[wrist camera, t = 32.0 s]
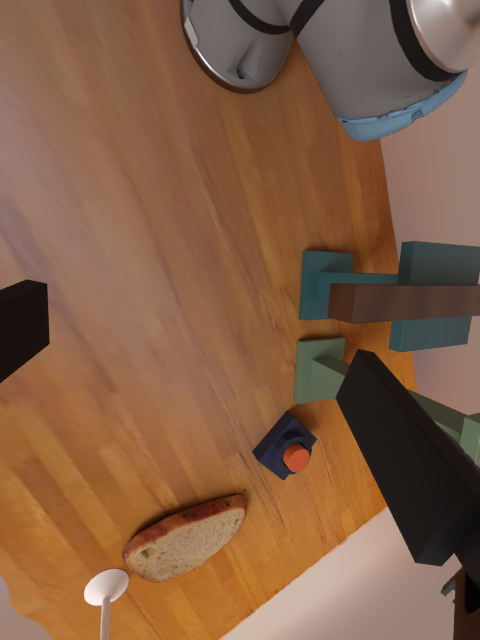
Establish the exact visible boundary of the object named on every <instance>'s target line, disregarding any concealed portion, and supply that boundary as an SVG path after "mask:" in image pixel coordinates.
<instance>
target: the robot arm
mask: <svg viewBox="0 0 480 640" xmlns="http://www.w3.org/2000/svg"><path fill="white" fill-rule="evenodd" d="M180 16H181V23H182V28H183V32H184V36H185V39H186V41H187V44H188V46H189V49H190V51H191V53H192V55H193V56H194V58H195V60H196V61H197V63H198V64H199V66H200V67H201V68H202V69H203V71H204V72H205V73H206V74H207V75H208V76H209V77H210V78H211V79H212V80H213V81H215V82H216V83H217V84H219V85H220V86H222V87H224V88H225V89H228V90H230V91H233V92H236V93H242V94H250V93H255V92H258V91H260V90H262V89H264V88H266V87H267V86H268V85H269V84H270V83H271V82H272V81H273V80H274V79H275V77H276V76H277V75H278V74H279V72H280V71H281V69H282V68H283V66H284V64H285V61H286V59H287V56H288V53H289V50H290V47H291V44H292V41H293V38H294V36H295V38H296V41H297V42H298V44H299V46H300V48H301V50H302V52H303V54H304V56H305V58H306V60H307V62H308V64H309V66H310V68H311V70H312V72H313V73H314V75H315V77H316V79H317V81H318V83H319V85H320V87H321V89H322V91H323V93H324V95H325V97H326V99H327V101H328V103H329V105H330V106H331V108H332V112H333V115H335V118H336V119H337V120H339V121H340V123H341V124H342V126H343V128H344V129H345V131H346V132H347V134H348V135H349V136H350V137H351V138H352V139H354V140H357V141H372V140H376V139H379V138H382V137H385V136H388V135H390V134H393V133H395V132H397V131H399V130H401V129H403V128H405V127H407V126H409V125H410V124H412V123H413V122H414V121H415V120H416V119H418V118H420V117H424V116H426V115H427V114H429V113H430V112H432V111H433V110H435V109H437V108H438V107H439V106H441V105H442V104H443V103H444V102H446V101H447V100H448V99H449V98H450V97H451V96H453V95H454V93H456V92H457V91H458V89H459V88H460V87H461V86H462V84H463V83H464V81H465V79H466V76H467V70H468V69H469V68H470V67H472V66H474V65H475V64H476V63H477V62H479V61H480V0H181V1H180ZM49 344H50V342H49V317H48V292H47V284H46V283H41V282H37V281H32V280H27V279H26V280H24V281H21V282H19V283H16V284H14V285H11V286H9V287H6V288H4V289H2V290H0V383H1V382H2V381H3V380H5V379H6V378H7V377H9V376H10V375H11V374H12V373H14V372H15V371H16V370H17V369H19V368H20V367H21V366H22V365H24V364H25V363H26V362H27V361H29V360H30V359H31V358H32V357H34V356H35V355H36V354H37V353H39V352H40V351H41V350H42V349H44V348H45V347H46V346H48V345H49ZM335 399H336V401H337V403H338V405H339V407H340V409H341V411H342V413H343V415H344V417H345V419H346V421H347V423H348V425H349V427H350V429H351V431H352V433H353V436H354V438H355V440H356V442H357V444H358V446H359V448H360V450H361V452H362V454H363V456H364V458H365V460H366V462H367V464H368V466H369V468H370V470H371V473H372V475H373V477H374V479H375V481H376V483H377V485H378V487H379V489H380V491H381V493H382V495H383V497H384V499H385V501H386V503H387V505H388V507H389V509H390V511H391V514H392V515H393V518H394V520H395V522H396V524H397V526H398V528H399V530H400V532H401V534H402V536H403V538H404V540H405V542H406V544H407V546H408V549H409V551H410V552H411V555H412V557H413V559H414V561H415V563H420V564H428V565H436V566H442V565H443V564H444V563H445V562H446V561H447V560H448V559H449V558H450V557H451V556H452V554H453V553H455V555H456V556H457V558H458V559H459V561H460V562H461V564H462V566H463V567H462V568H461V569H460V570H459V571H458V572H457V573H456V574H455V575H454V576H453V577H452V578H451V579H450V580H449V581H448V582H447V583H446V584H445V585H444V586H443V588H442V591H441V593H442V594H443V595H444V596H446V595H447V594H448V593H449V592H450V591H451V590H455V599H454V600H453V603H454V604H455V611H454V635H453V640H480V467H479V466H478V465H475V462H474V461H473V459H472V458H471V457H470V456H469V455H468V454H467V453H465V452H464V451H465V450H464V449H463V448H462V447H461V446H460V445H459V444H458V443H457V442H456V440H455V439H454V438H453V437H452V436H451V435H449V434H448V433H447V432H446V431H444V430H443V429H442V428H441V427H439V426H438V425H437V424H436V423H435V422H434V420H433V419H432V418H431V417H430V416H429V415H428V414H427V412H426V411H425V410H424V409H423V408H422V407H421V406H420V404H419V403H418V402H417V401H416V400H415V399H414V398H413V396H412V395H411V394H410V393H409V392H408V391H407V390H406V388H405V387H404V386H403V385H402V384H401V383H400V382H399V380H398V379H397V378H396V377H395V376H394V375H393V374H392V372H391V371H390V370H389V369H388V368H387V367H386V366H385V364H384V363H383V362H382V361H381V360H380V359H379V358H378V356H377V355H376V354H375V353H374V352H370V351H366V350H361V349H358V350H357V352H356V354H355V356H354V358H353V360H352V363H351V365H350V367H349V369H348V371H347V373H346V376H345V378H344V380H343V382H342V384H341V386H340V389H339V391H338V393H337V395H336V397H335Z"/></svg>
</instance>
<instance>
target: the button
mask: <svg viewBox="0 0 480 640" xmlns="http://www.w3.org/2000/svg"><path fill="white" fill-rule="evenodd" d="M309 458H310V456H309V453H308V451H307V450H306V449H305V448H304V447H303V446H302V445H301V444H298V443H295V444H292V445H290V446H289V447H288V448H287V449H286V451H285V452H284V455H283V461H284V463H285V464H286V465H287V467H288V468H289V469H290V470H291V471H292V472H299V471H301V470H303V469H304V468H305V467H306V466H307V464H308V462H309Z"/></svg>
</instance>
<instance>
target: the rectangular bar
mask: <svg viewBox="0 0 480 640" xmlns="http://www.w3.org/2000/svg"><path fill="white" fill-rule="evenodd" d="M479 315H480V284H355V283H331V284H330V293H329V305H328V318H332V319H336V320H340V321H344V322H348V323H352V324H353V323H369V322H385V321H401V320H417V319H432V318H448V317H464V316H479Z"/></svg>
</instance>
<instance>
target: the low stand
mask: <svg viewBox="0 0 480 640" xmlns="http://www.w3.org/2000/svg"><path fill="white" fill-rule="evenodd" d="M353 257H354V253H340V252H323V251H303V263H302V279H301V294H300V309H299V319H301V320H318V319H332V318H328V305H329V293H330V284H331V283H355V284H478V278H479V272H480V247H475V246H464V245H452V244H440V243H429V242H417V241H411V242H402V248H401V256H400V263H399V271H398V274H373V273H352V268H353ZM471 318H472V316H464V317H448V318H432V319H417V320H401V321H392V327H391V335H390V343H389V349H391V350H394V351H398V352H406V351H414V350H422V349H431V348H439V347H446V346H455V345H463V344H467V341H468V335H469V329H470V324H471Z"/></svg>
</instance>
